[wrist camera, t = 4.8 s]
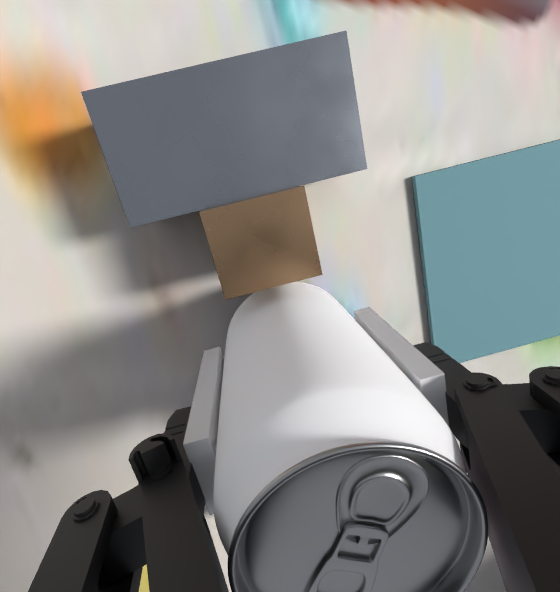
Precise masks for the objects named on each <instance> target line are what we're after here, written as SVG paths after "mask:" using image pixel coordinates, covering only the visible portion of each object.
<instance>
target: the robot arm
mask: <svg viewBox="0 0 560 592" xmlns="http://www.w3.org/2000/svg"><path fill="white" fill-rule="evenodd" d="M354 315H355V320H356V322H357V323H358V324H359V325H360V326H361V327H362V328H363V329H364V330H365V332H366V333H367V334H368V335H369V336H370V337H371V338H372V339H373V340H374V341H375V342H376V344H377V345H378V346H379V347H380V348H381V349H382V350H383V351H384V352H385V353H386V354H387V356H388V357H389V358H390V359H391V360H392V361H393V362H394V363H395V364H396V365H397V367H398V368H399V369H400V370H401V371H402V372H403V373H404V374H405V375H406V377H407V378H408V379H409V380H410V381H411V382H412V383H413V384H414V385H415V387H416V388H417V389H418V390H419V391H420V392H421V393H422V394H423V396H424V397H425V398H426V399H427V400H428V401H429V402H430V404H431V405H432V406H433V407H434V408H435V410H436V411H437V412H438V413H439V414H440V416H441V417H442V418H443V419H444V421H445V422H446V424H447V425H448V427H449V428H450V430H451V431H452V433H453V434H454V436H455V437H456V438H457V439H458V440H459V441H460V450H461V454H462V458H463V462H464V466H465V471H466V473H468V476H469V477H470V478H471V479H472V481H473V482H474V484H475V485H476V487H477V488H478V490H479V492H480V494H481V496H482V498H483V501H484V504H485V507H486V511H487V516H488V536H489V539H490V542H491V545H492V548H493V551H494V554H495V557H496V560H497V563H498V566H499V569H500V572H501V575H502V578H503V581H504V584H505V587H506V590H507V592H560V367H554V366H549V367H540V368H538V369H535V370H533V371H532V372H531V373H530V374H529V379H530V383H523V384H502V383H501V382H500V381H499V380H498V379H497V378H495V377H493V376H491V375H489V374H484V373H471V372H470V371H469V370H467V369H466V368H465V367H464V366H462V365H461V364H460V363H458V362H457V361H456V360H455V359H452V357H451V356H449V355H448V354H447V353H445V352H444V351H443V350H442V349H440V348H439V347H438V346H435V345H432V344H429V343H426V342H425V343H421V344H417V345H414V346H413V345H412V344H411V343H409V342H408V341H407V340H406V339H405V338H404V337H403V336H401V335H400V334H399V333H398V332H397V331H396V330H395V329H393V328H392V327H391V326H390V325H389V324H388V323H387V322H386V321H384V320H383V319H382V318H381V317H380V316H379V315H378V314H376V313H375V312H374V311H373V310H372V309H371V308H370V307H368V308H364V309H360V310H356V311H354ZM223 368H224V358H223V354H222V351H221V348H220V347H216V348H212V349H208V350H204V353H203V358H202V362H201V367H200V371H199V376H198V380H197V384H196V389H195V393H194V398H193V402H192V406H190V407H187V408H183V409H179V410H176V411H175V412H174V413H173V415H172V416H171V417H170V418H169V420H168V422H167V426H166V431H165V432H164V433H163V434H157V435H154V436H151V437H149V438H147V439H145V440H144V441H142V442H141V443H139V444H138V445H137V446H136V447H135V448H134V449H133V451H132V452H131V453H130V456H129V462H130V464H131V466H132V469H133V471H134V473H135V475H136V478H137V480H138V482H139V485H137V486H136V487H134V488H133V489H131V490H129V491H127V492H125V493H123V494H121V495H120V496H118V497H116V498H114V499H112V497H111V495H110V494H109V493H108V491H104V490H99V491H94V492H91V493H89V494H87V495H85V496H83V497H81V498H80V499H78V500H77V501H76V502H75V503H74V504H73V505H72V506H71V507H70V508H69V509H68V510H67V511H66V512H65V514H64V515H63V517H62V518H61V521H60V523H59V525H58V527H57V529H56V532H55V534H54V536H53V538H52V540H51V543H50V545H49V547H48V549H47V551H46V553H45V556H44V558H43V560H42V562H41V564H40V567H39V569H38V571H37V573H36V575H35V577H34V580H33V582H32V584H31V586H30V588H29V591H28V592H138V591H139V585H140V580H141V574H142V566H144V565H146V564H147V571H148V580H149V590H150V592H229V591H228V588H227V584H226V581H225V578H224V575H223V572H222V569H221V565H220V562H219V559H218V556H217V553H216V550H215V547H214V543H213V540H212V537H211V534H210V531H209V528H208V525H207V522H206V519H205V517H204V506H205V504H206V506H207V509H208V512H209V514H210V515H212V514H214V501H213V493H214V473H215V460H216V447H217V435H218V423H219V412H220V401H221V389H222V378H223Z"/></svg>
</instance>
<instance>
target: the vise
mask: <svg viewBox="0 0 560 592" xmlns="http://www.w3.org/2000/svg"><path fill="white" fill-rule="evenodd" d="M81 93H82V96H83V99H84V101H85V104H86V107H87V110H88V112H89V115H90V118H91V121H92V124H93V126H94V129H95V132H96V135H97V137H98V140H99V143H100V146H101V148H102V151H103V154H104V157H105V160H106V162H107V165H108V168H109V171H110V173H111V176H112V179H113V182H114V184H115V187H116V190H117V193H118V196H119V198H120V201H121V204H122V207H123V209H124V212H125V215H126V218H127V220H128V223H129V226H130V228H132V227H136V226H140V225H144V224H148V223H152V222H156V221H160V220H164V219H168V218H172V217H176V216H180V215H184V214H188V213H192V212H196V211H200V210H202V211H200V212H199V213H200V216H201V220H202V223H203V226H204V230H205V233H206V237H207V240H208V243H209V247H210V250H211V253H212V257H213V260H214V263H215V267H216V270H217V273H218V277H219V280H220V283H221V287H222V290H223V294H224V297H225V300H227V299H231V298H234V297H238V296H242V295H246V294H250V293H254V292H257V291H261V290H265V289H269V288H273V287H277V286H280V285H284V284H288V283H292V282H296V281H300V280H303V279H307V278H311V277H315V276H319V275H322V271H321V266H320V261H319V256H318V251H317V246H316V241H315V236H314V232H313V227H312V222H311V217H310V212H309V207H308V202H307V197H306V193H305V188H304V186H300V185H304V184H308V183H312V182H316V181H320V180H324V179H328V178H332V177H336V176H340V175H344V174H348V173H352V172H356V171H360V170H364V169H367V164H366V158H365V151H364V144H363V138H362V131H361V125H360V118H359V111H358V105H357V98H356V92H355V85H354V78H353V72H352V65H351V58H350V52H349V45H348V39H347V32H346V31H343V32H338V33H334V34H330V35H325V36H321V37H317V38H312V39H308V40H304V41H299V42H295V43H291V44H286V45H282V46H278V47H273V48H269V49H265V50H260V51H256V52H252V53H247V54H243V55H239V56H234V57H230V58H226V59H222V60H217V61H213V62H209V63H204V64H200V65H196V66H191V67H187V68H183V69H178V70H174V71H170V72H165V73H161V74H157V75H152V76H148V77H144V78H139V79H135V80H131V81H126V82H122V83H118V84H113V85H109V86H105V87H100V88H96V89H92V90H87V91H83V92H81Z"/></svg>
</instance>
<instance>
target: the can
mask: <svg viewBox="0 0 560 592" xmlns="http://www.w3.org/2000/svg"><path fill="white" fill-rule="evenodd" d="M213 501H214V516H215V522H216V526H217V530H218V533H219V536H220V539H221V541H222V544H223V546H224V548H225V550H226V552H227V554H228V577H229V583H230V587H231V590H232V592H464V590H465V589H466V588H467V586H468V585H469V584H470V582H471V581H472V579H473V577H474V576H475V574H476V572H477V570H478V568H479V566H480V564H481V561H482V559H483V556H484V553H485V549H486V545H487V539H488V516H487V511H486V507H485V504H484V501H483V498H482V496H481V494H480V492H479V490H478V488H477V487H476V485H475V484H474V482H473V481H472V479H471V478H470V477H469V476H468V475H467V474H466V471H465V466H464V462H463V458H462V454H461V451H460V448H459V445H458V443H457V441H456V439H455V436H454V435H453V433H452V431H451V430H450V428H449V427H448V425H447V424H446V422H445V421H444V419H443V418H442V417H441V416H440V414H439V413H438V412H437V411H436V410H435V408H434V407H433V406H432V405H431V404H430V402H429V401H428V400H427V399H426V398H425V397H424V396H423V394H422V393H421V392H420V391H419V390H418V389H417V388H416V387H415V385H414V384H413V383H412V382H411V381H410V380H409V379H408V378H407V377H406V375H405V374H404V373H403V372H402V371H401V370H400V369H399V368H398V367H397V365H396V364H395V363H394V362H393V361H392V360H391V359H390V358H389V357H388V356H387V354H386V353H385V352H384V351H383V350H382V349H381V348H380V347H379V346H378V345H377V344H376V342H375V341H374V340H373V339H372V338H371V337H370V336H369V335H368V334H367V333H366V332H365V330H364V329H363V328H362V327H361V326H360V325H359V324H358V323H357V322H356V321H355V320H354V318H353V317H352V316H351V315H350V314H349V313H348V312H347V311H346V310H345V309H344V308H343V307H342V306H341V305H340V304H339V302H338V301H337V300H336V299H334V298H333V297H332V296H331V295H330V294H329V293H328V292H326V291H325V290H323V289H321V288H319V287H317V286H314V285H311V284H307V283H301V282H292V283H288V284H284V285H280V286H277V287H273V288H269V289H265V290H261V291H257V292H255V293H253V294H252V295H250V296H249V297H248V298H247V299H246V300H245V301H244V302H243V303H242V304H241V305H240V306H239V308H238V309H237V311H236V312H235V314H234V316H233V318H232V320H231V322H230V325H229V328H228V333H227V339H226V347H225V357H224V368H223V378H222V389H221V401H220V412H219V423H218V435H217V447H216V460H215V473H214V493H213Z"/></svg>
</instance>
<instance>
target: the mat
mask: <svg viewBox="0 0 560 592" xmlns="http://www.w3.org/2000/svg"><path fill="white" fill-rule="evenodd" d="M412 183H413V192H414V201H415V209H416V218H417V227H418V235H419V244H420V253H421V261H422V270H423V278H424V287H425V296H426V304H427V313H428V322H429V330H430V339H431V344H432V345H435V346H438V347H439V348H440V349H442V350H443V351H444V352H445V353H447V354H448V355H449V356H451V357H452V359H455V360H456V361H457V362H458V363H461V362H465V361H469V360H472V359H476V358H479V357H483V356H487V355H490V354H494V353H497V352H501V351H505V350H508V349H512V348H516V347H519V346H523V345H526V344H530V343H534V342H537V341H541V340H544V339H548V338H552V337H555V336H559V335H560V140H556V141H552V142H548V143H544V144H540V145H536V146H532V147H528V148H524V149H520V150H516V151H512V152H508V153H504V154H500V155H496V156H492V157H488V158H484V159H480V160H476V161H472V162H468V163H464V164H460V165H456V166H452V167H448V168H445V169H441V170H437V171H433V172H429V173H425V174H421V175H417V176H413V177H412Z"/></svg>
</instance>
